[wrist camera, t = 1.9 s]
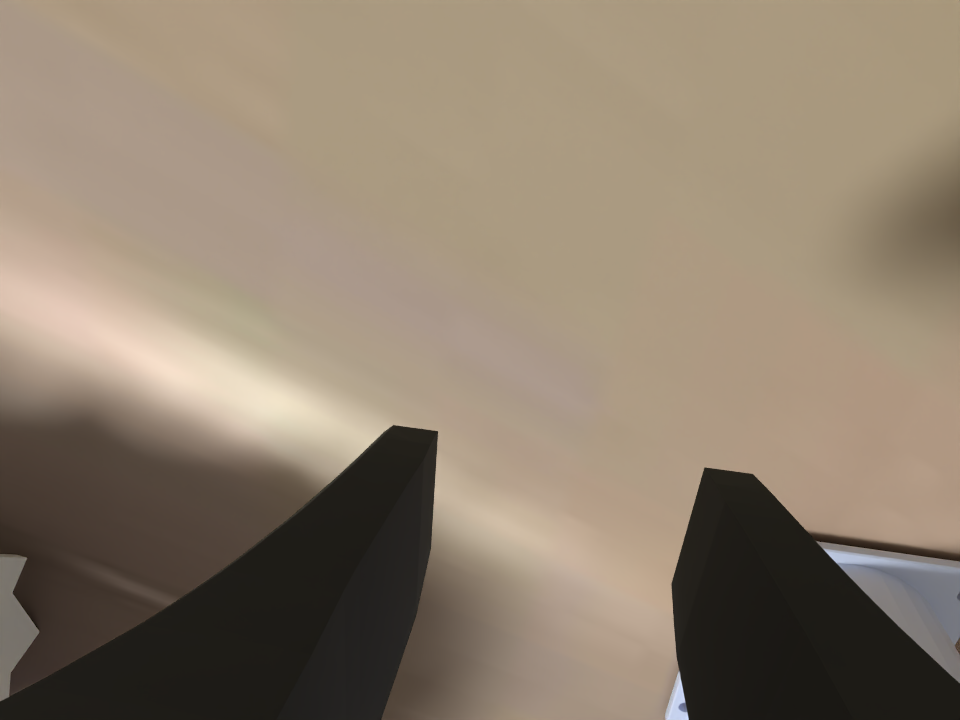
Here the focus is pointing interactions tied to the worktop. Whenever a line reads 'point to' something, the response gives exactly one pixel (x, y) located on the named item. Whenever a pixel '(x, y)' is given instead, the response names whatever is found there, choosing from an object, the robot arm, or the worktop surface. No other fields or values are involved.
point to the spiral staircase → (12, 621)
